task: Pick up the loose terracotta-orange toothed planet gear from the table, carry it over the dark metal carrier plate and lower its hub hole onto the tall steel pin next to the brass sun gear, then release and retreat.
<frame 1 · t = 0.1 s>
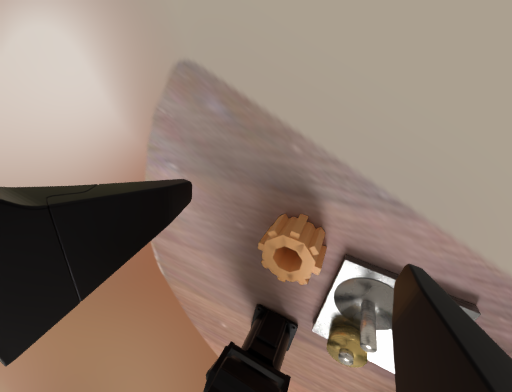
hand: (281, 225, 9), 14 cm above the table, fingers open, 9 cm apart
carrier: (379, 316, 26), on the table
planet gear: (297, 238, 26), on the table
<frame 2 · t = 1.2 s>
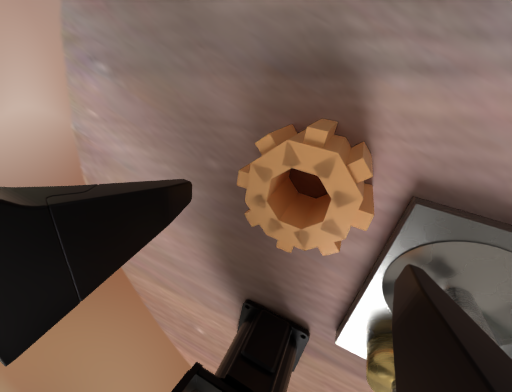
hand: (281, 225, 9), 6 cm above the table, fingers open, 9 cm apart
carrier: (470, 320, 14), on the table
planet gear: (313, 175, 14), on the table
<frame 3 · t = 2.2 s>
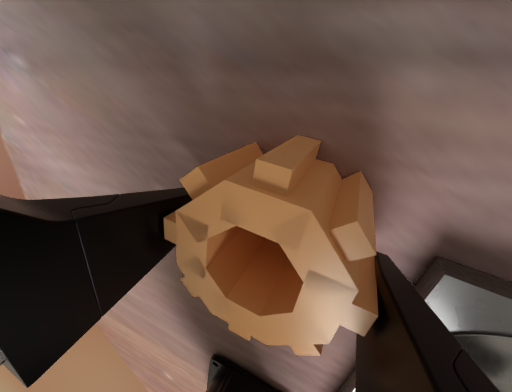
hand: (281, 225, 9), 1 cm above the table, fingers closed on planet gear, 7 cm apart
planet gear: (288, 213, 10), on the table, touching gripper
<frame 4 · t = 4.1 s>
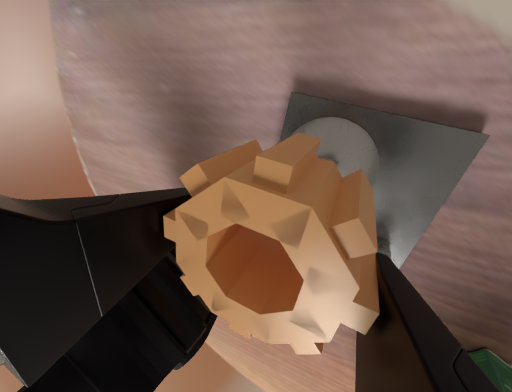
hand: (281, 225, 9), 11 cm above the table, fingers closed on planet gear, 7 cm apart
carrier: (343, 192, 18), on the table
coffee box: (451, 366, 21), on the table
planet gear: (288, 212, 10), point 10 cm above the table, touching gripper
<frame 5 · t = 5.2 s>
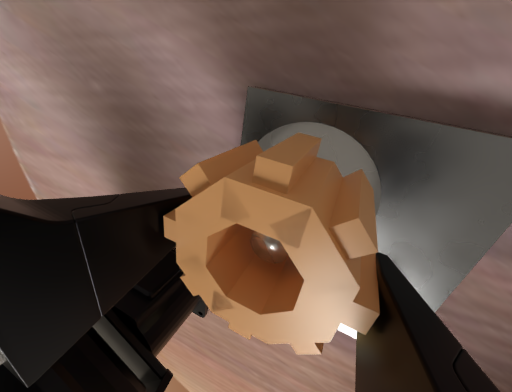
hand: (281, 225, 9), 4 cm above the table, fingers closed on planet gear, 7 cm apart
carrier: (331, 227, 13), on the table
planet gear: (289, 212, 10), point 3 cm above the table, touching gripper
when the fingers open (3 cm above the table, at t = 5.9 s): planet gear drops 1 cm, resting on carrier.
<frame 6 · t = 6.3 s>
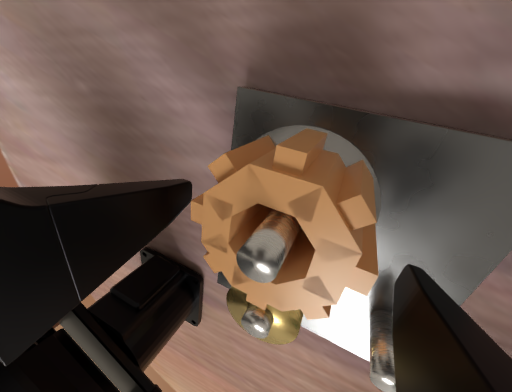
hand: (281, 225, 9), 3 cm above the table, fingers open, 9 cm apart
carrier: (328, 236, 12), on the table
planet gear: (297, 200, 11), point 1 cm above the table, touching carrier
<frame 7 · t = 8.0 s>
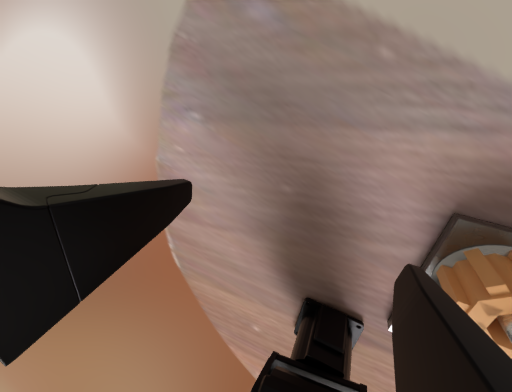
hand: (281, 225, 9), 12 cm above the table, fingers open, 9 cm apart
carrier: (500, 305, 18), on the table
planet gear: (491, 286, 17), point 1 cm above the table, touching carrier
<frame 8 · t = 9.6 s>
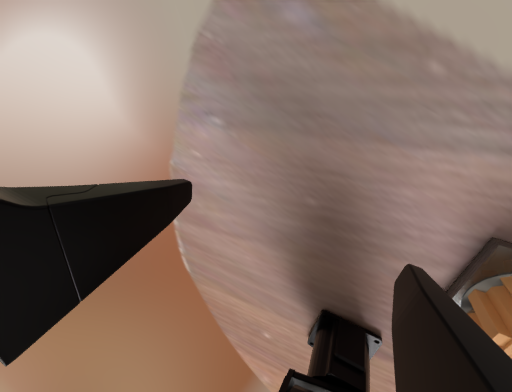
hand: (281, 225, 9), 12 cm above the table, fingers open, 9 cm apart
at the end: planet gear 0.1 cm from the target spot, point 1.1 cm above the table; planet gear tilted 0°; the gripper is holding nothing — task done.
